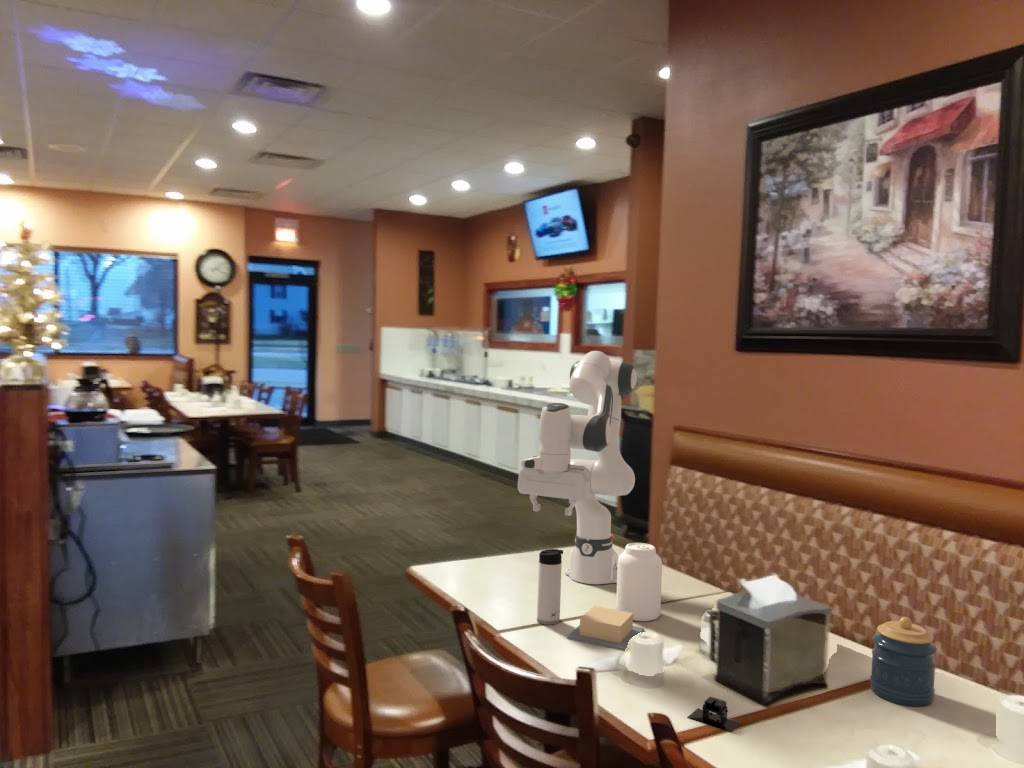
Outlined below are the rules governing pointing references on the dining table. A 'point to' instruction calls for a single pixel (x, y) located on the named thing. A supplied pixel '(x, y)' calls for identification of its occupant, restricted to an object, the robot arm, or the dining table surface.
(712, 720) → the build plate
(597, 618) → the tan block on plate
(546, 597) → the travel mug
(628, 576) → the white jar
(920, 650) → the canister
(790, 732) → the dining table surface
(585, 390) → the robot arm
